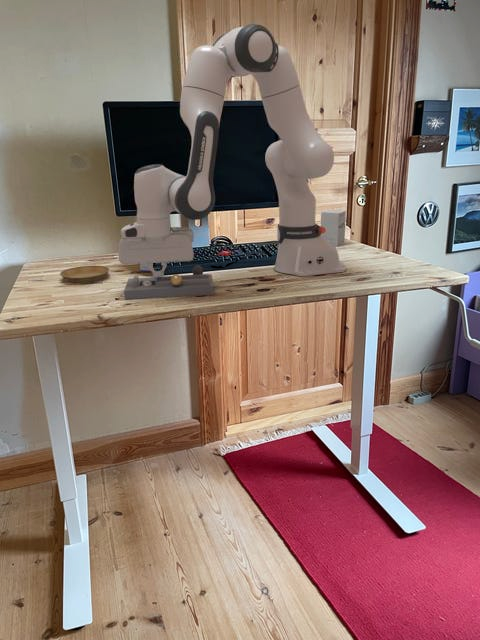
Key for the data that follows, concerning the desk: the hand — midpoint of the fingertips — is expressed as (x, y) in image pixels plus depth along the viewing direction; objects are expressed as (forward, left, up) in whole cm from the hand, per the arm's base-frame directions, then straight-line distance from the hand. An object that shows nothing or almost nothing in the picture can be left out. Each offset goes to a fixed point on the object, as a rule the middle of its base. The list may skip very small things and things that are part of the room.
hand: (158, 277), depth 139 cm
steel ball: (+3, 0, -2) cm, 4 cm away
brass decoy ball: (-5, +4, 0) cm, 7 cm away
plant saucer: (+23, -18, -4) cm, 30 cm away
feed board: (-3, 0, -4) cm, 5 cm away
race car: (-20, -28, -4) cm, 35 cm away
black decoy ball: (-11, -4, 0) cm, 12 cm away
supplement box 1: (+3, -24, -4) cm, 25 cm away
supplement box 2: (-64, -49, -4) cm, 80 cm away
